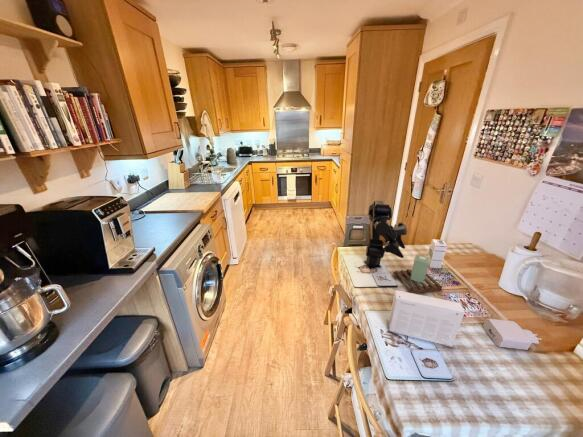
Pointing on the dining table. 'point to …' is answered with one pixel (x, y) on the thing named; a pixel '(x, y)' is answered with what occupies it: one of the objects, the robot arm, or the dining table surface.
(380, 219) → the robot arm
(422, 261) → the green rectangular box
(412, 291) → the rack
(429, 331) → the skincare box
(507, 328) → the charger
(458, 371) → the dining table surface
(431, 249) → the syrup box
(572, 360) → the dining table surface
